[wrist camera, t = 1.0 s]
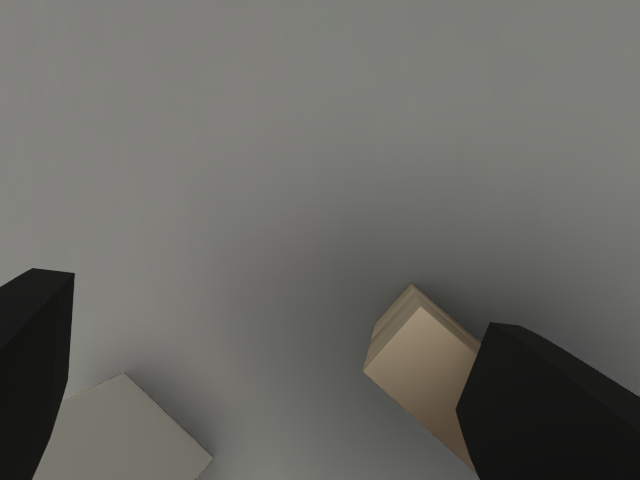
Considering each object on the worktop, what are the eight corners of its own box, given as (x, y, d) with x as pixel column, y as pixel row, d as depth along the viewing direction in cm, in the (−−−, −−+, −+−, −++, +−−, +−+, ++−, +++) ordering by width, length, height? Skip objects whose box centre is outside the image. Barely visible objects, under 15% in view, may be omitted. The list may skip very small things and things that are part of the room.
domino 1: (213, 458, 22) (108, 579, 14) (180, 495, 22) (58, 637, 14) (124, 372, 22) (-27, 443, 14) (92, 410, 22) (-74, 500, 15)
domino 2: (514, 371, 20) (589, 453, 12) (476, 412, 21) (527, 519, 13) (411, 282, 21) (420, 306, 13) (375, 323, 21) (362, 371, 13)
